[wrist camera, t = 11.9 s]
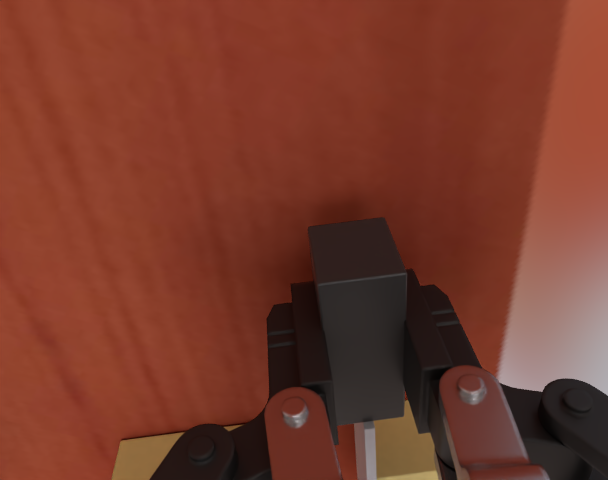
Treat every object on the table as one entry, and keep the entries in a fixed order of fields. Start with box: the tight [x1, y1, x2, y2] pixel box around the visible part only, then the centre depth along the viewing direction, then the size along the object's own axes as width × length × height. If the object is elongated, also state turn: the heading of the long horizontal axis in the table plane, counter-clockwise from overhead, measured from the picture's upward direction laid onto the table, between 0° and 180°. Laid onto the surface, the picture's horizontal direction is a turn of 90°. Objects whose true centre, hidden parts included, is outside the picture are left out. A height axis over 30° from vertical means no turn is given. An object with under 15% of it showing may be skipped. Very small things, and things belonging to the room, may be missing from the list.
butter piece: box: [374, 400, 438, 480], centre depth 20 cm, size 2×4×3 cm
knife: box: [308, 217, 407, 480], centre depth 16 cm, size 14×2×3 cm, turn 6°
